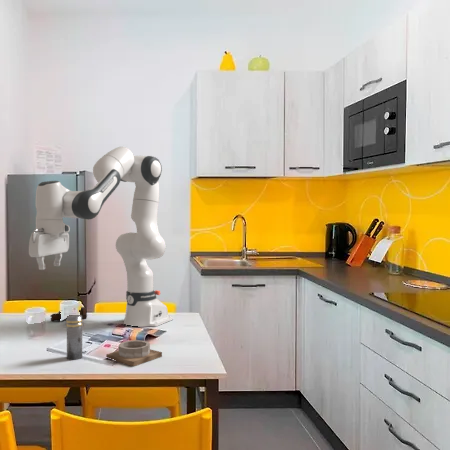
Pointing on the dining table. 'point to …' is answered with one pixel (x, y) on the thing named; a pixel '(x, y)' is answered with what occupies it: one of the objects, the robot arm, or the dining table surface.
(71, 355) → the cylinder
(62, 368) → the dining table surface
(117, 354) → the collar plate
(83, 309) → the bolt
